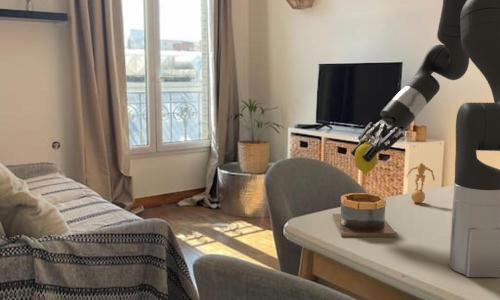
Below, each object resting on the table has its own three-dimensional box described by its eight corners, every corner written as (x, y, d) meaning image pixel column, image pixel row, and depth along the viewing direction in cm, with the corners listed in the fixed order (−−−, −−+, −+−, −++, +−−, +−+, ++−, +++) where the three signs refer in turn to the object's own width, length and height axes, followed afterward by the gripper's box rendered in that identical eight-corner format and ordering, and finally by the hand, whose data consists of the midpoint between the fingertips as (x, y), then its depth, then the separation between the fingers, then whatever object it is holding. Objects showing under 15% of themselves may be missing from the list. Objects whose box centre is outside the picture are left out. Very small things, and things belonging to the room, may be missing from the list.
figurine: (402, 202, 150) (404, 163, 148) (407, 198, 155) (409, 160, 153) (430, 206, 146) (432, 166, 144) (435, 201, 151) (437, 163, 149)
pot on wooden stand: (395, 237, 118) (397, 206, 117) (341, 236, 119) (342, 206, 117) (380, 217, 134) (381, 190, 133) (332, 217, 134) (333, 190, 133)
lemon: (374, 171, 127) (375, 140, 126) (378, 176, 121) (379, 143, 120) (352, 171, 127) (353, 140, 126) (355, 175, 122) (355, 143, 121)
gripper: (380, 97, 130) (337, 143, 129) (411, 99, 116) (363, 152, 115) (397, 116, 132) (355, 162, 131) (429, 121, 119) (383, 173, 117)
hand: (359, 157), depth 123 cm, fingers closed on lemon, 5 cm apart
